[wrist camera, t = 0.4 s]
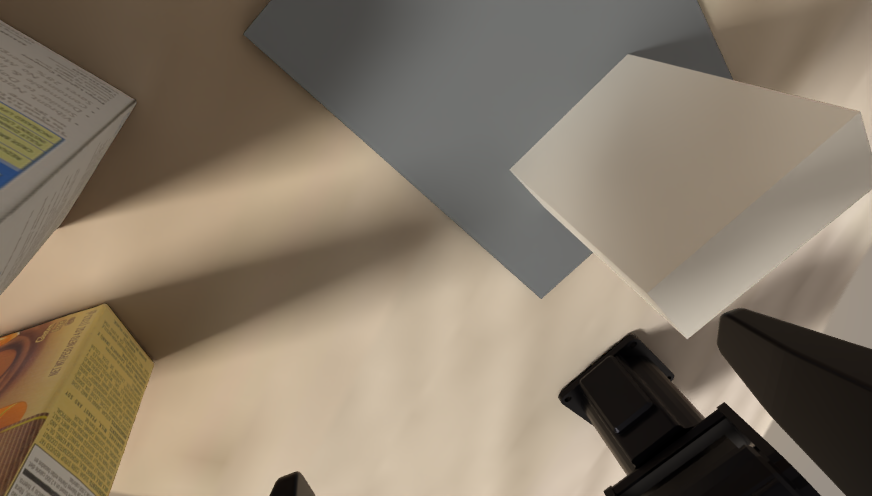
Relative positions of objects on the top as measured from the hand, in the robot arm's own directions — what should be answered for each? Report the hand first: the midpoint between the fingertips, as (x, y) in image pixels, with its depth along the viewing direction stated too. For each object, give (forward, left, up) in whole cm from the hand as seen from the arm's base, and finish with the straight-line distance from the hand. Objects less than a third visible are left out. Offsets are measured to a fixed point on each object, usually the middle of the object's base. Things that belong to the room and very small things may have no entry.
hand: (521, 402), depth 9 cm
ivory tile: (-5, -7, -13) cm, 16 cm away
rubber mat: (-2, -7, -14) cm, 15 cm away
